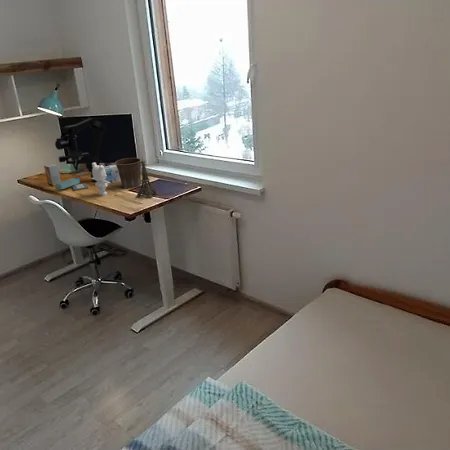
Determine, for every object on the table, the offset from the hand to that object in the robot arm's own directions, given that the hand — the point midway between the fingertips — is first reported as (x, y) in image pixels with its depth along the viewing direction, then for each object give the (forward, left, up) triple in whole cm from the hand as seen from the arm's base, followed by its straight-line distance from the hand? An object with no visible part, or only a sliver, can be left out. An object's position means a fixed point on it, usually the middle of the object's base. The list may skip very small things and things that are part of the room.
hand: (76, 170), depth 297 cm
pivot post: (0, -7, -11) cm, 13 cm away
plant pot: (-30, +18, -11) cm, 37 cm away
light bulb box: (-20, +2, -11) cm, 23 cm away
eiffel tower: (-33, +45, -11) cm, 57 cm away
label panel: (0, +2, -11) cm, 11 cm away
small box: (+14, -19, -11) cm, 26 cm away
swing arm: (+6, -3, -10) cm, 11 cm away
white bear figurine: (-11, +27, -11) cm, 31 cm away
